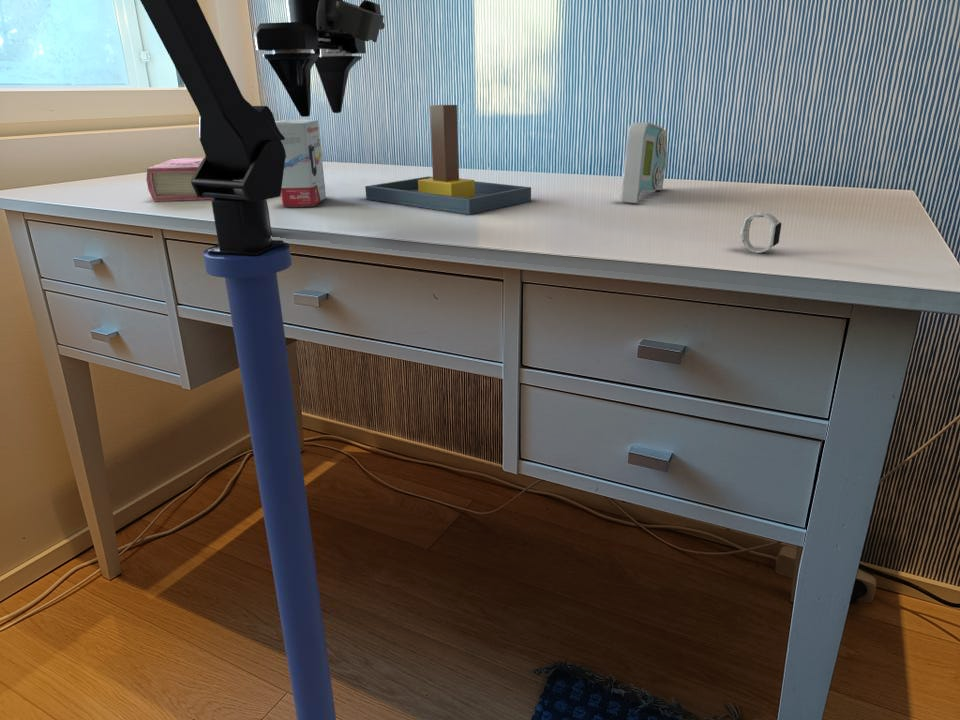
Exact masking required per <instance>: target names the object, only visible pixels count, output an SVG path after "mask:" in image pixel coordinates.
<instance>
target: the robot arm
mask: <svg viewBox="0 0 960 720" xmlns="http://www.w3.org/2000/svg"><path fill="white" fill-rule="evenodd" d="M285 1H286V10H287V19H288V22H287V21H285V22H261V23H259V24H258V26H257V28H256V29H254V32H253V34H254V42H255V50H256V51H259V52H260V51H261V52H273V53H263V54H262V57H263V59H264V60H267V61H268V64H269V65H270V66H271V68H272V69H273V71H274V73H275V75H276V76H277V78H278V79H279V81H280V82H281V84H282V86H283V87H284V90H285V91H286V92H287V94H288V96H289V98H290V100H291V101H292V103H293V105H294V107H295V109H296V110H297V112H298V114H299V116H300V117H302V118H308V117H310V116H311V105H312V104H311V103H312V101H311V100H312V95H311V91H312V89H311V87H312V86H311V85H312V83H311V80H312V79H311V75H312V74H311V71H312V68H313V66H314V67H315V68H316V71H317V73H318V76H319V79H320V82H321V85H322V89H323V90H324V93H325V96H326V100H327V102H328V104H329V107H330V109H331V112H332V113H333V114H340V113H341V112H342V109H343V105H344V99H345V94H346V89H347V88H346V87H347V83H348V78H349V75H350V72H351V69H353V67H354V66H355V65H356V64H357V63H358V62H359V61H361V60H362V58H363V55H362V54H367V49H366V42H369V41H372V42H374V43H377V41H378V37H379V33H380V30H381V31H382V30H384V29H385V23H384V15H383V14H382V10H381V5H380V4H379V3H376V2H374V1H371V0H362V2H361V3H360V5H357V4H354V3H350V2H349V1H346V0H285ZM139 2H140V3H141V5H142V7H143V8H144V11H145V12H146V14H147V16H148V18H149V20H150V22H151V23H152V25H153V28H154V29H155V31H156V33H157V35H158V37H159V38H160V41H161V43H162V44H163V47H164V48H165V50H166V52H167V54H168V56H169V59H170V60H171V61H172V64H173V66H174V68H175V69H176V71H177V73H178V75H179V77H180V79H181V80H182V83H183V85H184V87H185V88H186V91H187V93H188V94H189V96H190V97H191V100H192V101H193V104H194V105H195V107H196V109H197V111H198V114H199V137H198V138H199V142H200V144H201V147H202V149H203V152H204V156H203V157H202V158H203V160H202V162H201V163H200V165H199V167H198V169H197V170H196V172H195V174H194V176H193V177H192V179H191V184H192V186H193V188H194V190H195V192H196V194H197V196H198V197H199V198H204V197H208V198H213V199H212V200H210V201H211V202H210V203H211V208H212V213H213V219H214V227H215V232H216V239H217V244H218V245H219V246H217V245H216V246H217V247H214V246H213V247H214V248H212V249H209V250H208V254H210V255H233V256H260V255H262V254H264V253H266V252H269V251H271V250H273V249H275V248H277V247H280V246H282V245H284V240H279V239H273V238H272V227H271V219H270V218H271V217H270V210H269V205H268V199H274V198H279V197H281V188H282V180H283V172H284V165H285V159H286V153H285V149H284V146H283V143H282V141H281V140H285V137H284V136H283V135H282V134H281V133H280V131H279V129H278V128H277V125H276V123H275V122H276V119H275V116H274V113H273V111H271V109H270V108H269V106H267V105H252V104H251V103H250V102H249V101H247V99H246V98H245V97H244V96H243V93H242V92H241V89H240V87H239V86H238V84H237V81H236V79H235V77H234V75H233V73H232V71H231V69H230V67H229V65H228V62H227V61H226V58H225V56H224V54H223V52H222V50H221V48H220V46H219V43H218V41H217V39H216V37H215V35H214V32H213V30H212V29H211V27H210V25H209V22H208V20H207V18H206V15H205V14H204V11H203V10H202V8H201V5H200V3H199V1H198V0H139ZM312 51H313V52H312ZM360 54H361V55H360Z"/></svg>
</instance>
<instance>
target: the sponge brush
mask: <svg viewBox="0 0 960 720" xmlns="http://www.w3.org/2000/svg"><path fill="white" fill-rule="evenodd" d="M429 116H430V117H429V119H430V142H431V165H432V177H433V178H428V179H422V180H418V191H419V192H423V193H431V194H439V195H447V196H455V197H462V198H471V197H475V185H474V181H475V179H470V178H469V179H468V178H460V167H459V166H460V165H459V163H460V161H459V159H460V158H459V126H458V124H459V123H458V104H432V105H429Z"/></svg>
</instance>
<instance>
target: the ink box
mask: <svg viewBox="0 0 960 720" xmlns="http://www.w3.org/2000/svg"><path fill="white" fill-rule="evenodd" d="M275 123H276V125H277V128H278V129H279V131H280V133H281V134H282V135H283V136H284V137H285V140H281V141H282V143H283V146H284V149H285V153H286V159H285V165H284V172H283V180H282V188H281V195H280V198H281V207H283V208H295V207H296V208H305V207H315V206H317V205H318V204H319V203H321V202H322V201H324V200H326V198H327V192H326V184H325V183H326V182H325V175H324V165H323V155H322V144H321V136H320V126H319V120H318V119H282V120H277V121H276V120H275Z"/></svg>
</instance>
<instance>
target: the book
mask: <svg viewBox="0 0 960 720" xmlns="http://www.w3.org/2000/svg"><path fill="white" fill-rule="evenodd" d="M203 158H204V157H179V158H172V159H169V160H163V161H164V162H161V163H158V164H155V165H154V164H153V165H151V166H149V167H147V168H146V179H145V180H146V185H147V190H148V192H149V195H150V197H151V199H152V201H153V202H171V201H174V202H175V201H199V200H213V198H208V197H204V198H199V197H198V196H197V194H196V192H195V190H194V188H193V186H192V184H191V179H192V177H193V176H194V174H195V172H196V170H197V169H198V167H199V165H200V163H201V162H202V160H203Z"/></svg>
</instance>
